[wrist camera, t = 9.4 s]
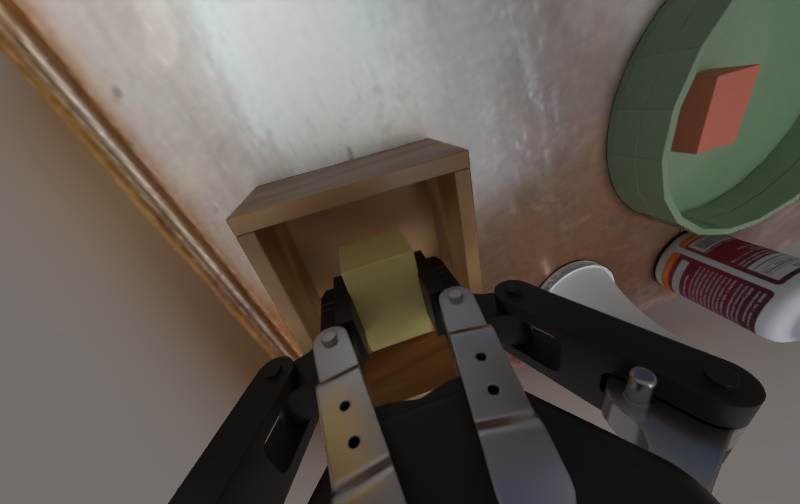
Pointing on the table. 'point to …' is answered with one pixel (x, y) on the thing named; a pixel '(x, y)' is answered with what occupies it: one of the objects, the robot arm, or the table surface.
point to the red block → (714, 108)
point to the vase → (599, 294)
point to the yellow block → (385, 288)
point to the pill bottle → (736, 282)
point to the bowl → (664, 95)
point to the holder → (357, 220)
